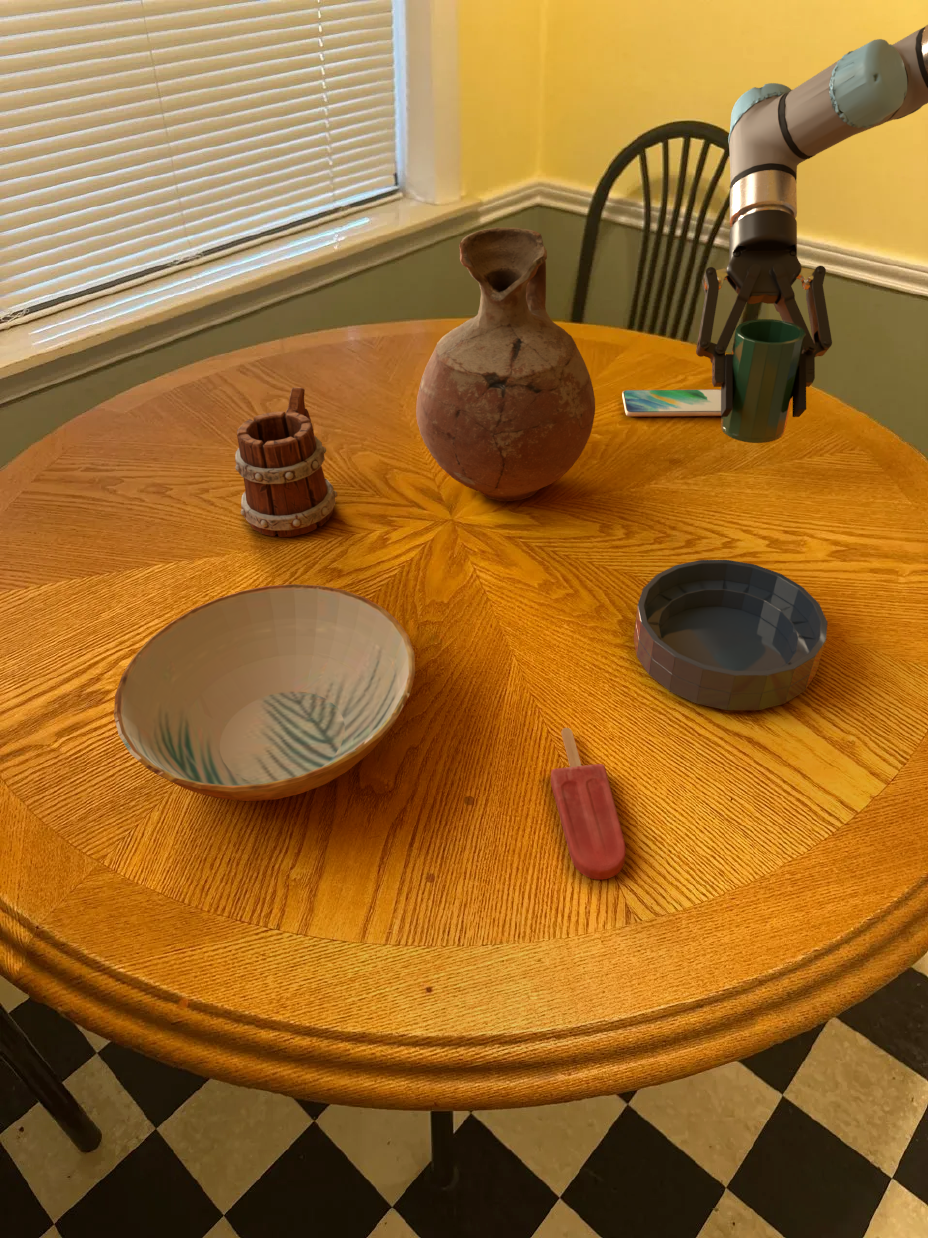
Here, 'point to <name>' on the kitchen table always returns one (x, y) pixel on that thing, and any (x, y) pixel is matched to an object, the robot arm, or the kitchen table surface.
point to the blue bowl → (729, 634)
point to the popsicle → (588, 815)
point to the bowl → (265, 691)
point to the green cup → (763, 379)
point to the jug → (506, 378)
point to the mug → (283, 472)
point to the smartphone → (672, 402)
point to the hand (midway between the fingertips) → (762, 412)
